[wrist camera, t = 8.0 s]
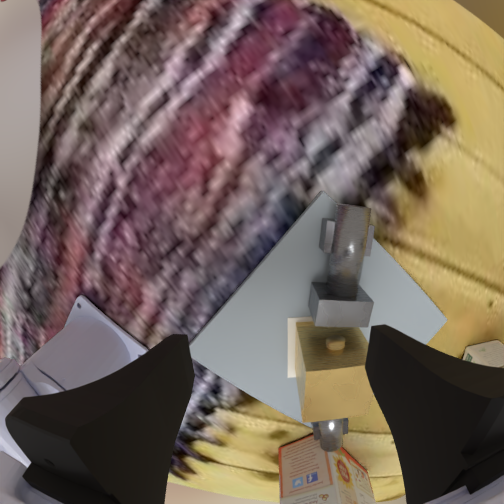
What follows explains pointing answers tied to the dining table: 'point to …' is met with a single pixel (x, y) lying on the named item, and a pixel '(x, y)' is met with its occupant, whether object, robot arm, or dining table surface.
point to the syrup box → (486, 354)
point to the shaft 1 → (343, 270)
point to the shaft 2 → (330, 433)
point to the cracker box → (321, 476)
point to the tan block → (331, 372)
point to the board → (300, 311)
